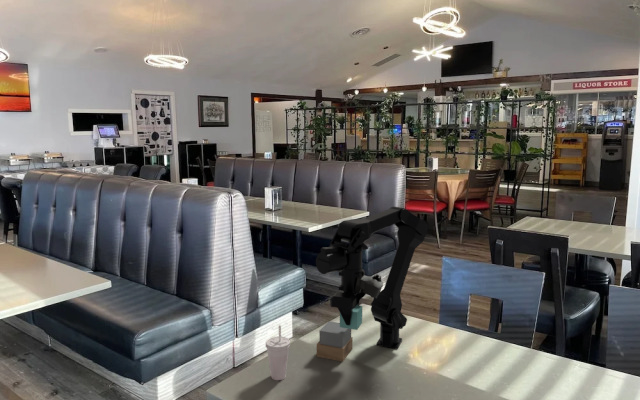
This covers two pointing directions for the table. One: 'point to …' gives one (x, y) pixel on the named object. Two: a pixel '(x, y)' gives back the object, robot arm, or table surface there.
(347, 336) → the tower top
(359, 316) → the teal cube
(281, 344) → the smoothie
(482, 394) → the table surface
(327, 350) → the tower base
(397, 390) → the table surface
